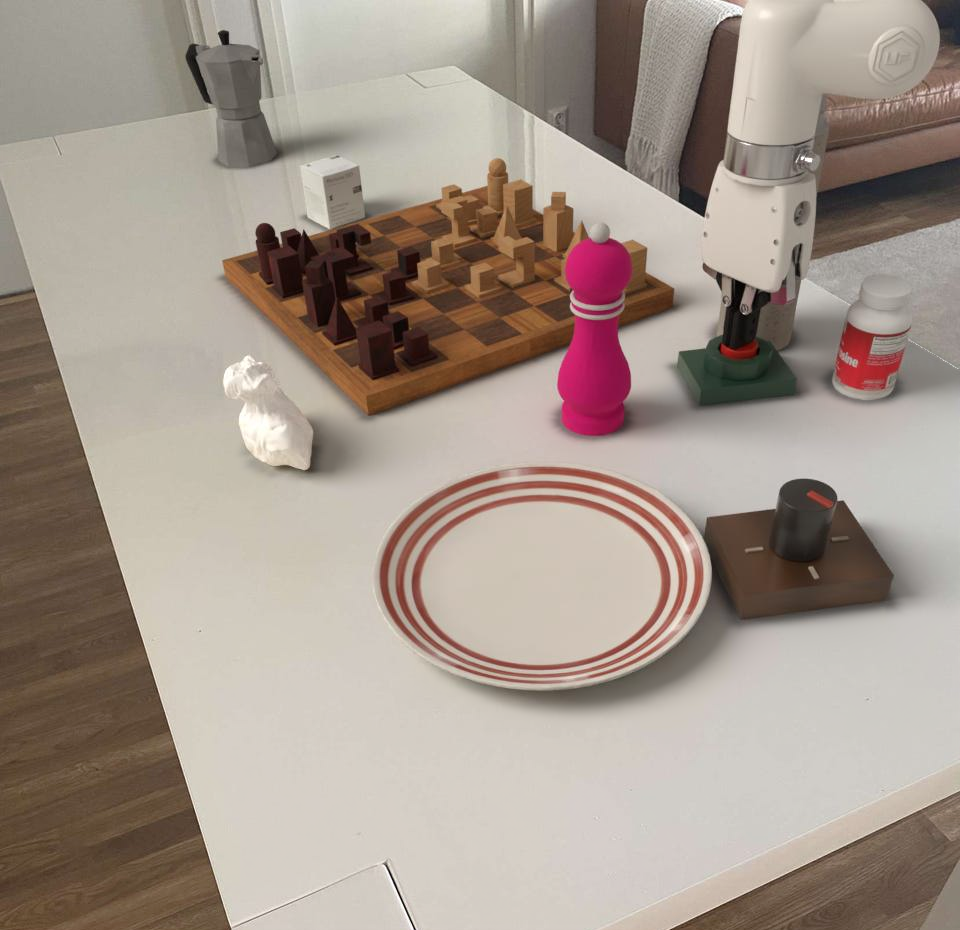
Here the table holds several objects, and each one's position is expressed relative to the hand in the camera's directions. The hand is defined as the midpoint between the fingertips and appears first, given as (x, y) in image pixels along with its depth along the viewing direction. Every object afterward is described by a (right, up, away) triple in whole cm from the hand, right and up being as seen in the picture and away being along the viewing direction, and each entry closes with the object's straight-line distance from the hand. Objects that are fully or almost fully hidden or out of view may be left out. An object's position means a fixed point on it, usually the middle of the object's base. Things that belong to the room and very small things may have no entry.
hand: (738, 342), depth 102 cm
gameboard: (-31, +12, +21) cm, 40 cm away
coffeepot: (-64, +46, +58) cm, 98 cm away
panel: (0, -25, -18) cm, 31 cm away
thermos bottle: (+4, +3, +10) cm, 11 cm away
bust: (-46, -12, -2) cm, 48 cm away
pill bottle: (+13, -4, +2) cm, 14 cm away
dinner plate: (-21, -26, -18) cm, 38 cm away
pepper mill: (-15, -8, -1) cm, 17 cm away
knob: (0, -22, -21) cm, 30 cm away
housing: (0, -3, +3) cm, 5 cm away
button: (0, -1, +1) cm, 2 cm away
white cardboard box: (-46, +29, +39) cm, 67 cm away
